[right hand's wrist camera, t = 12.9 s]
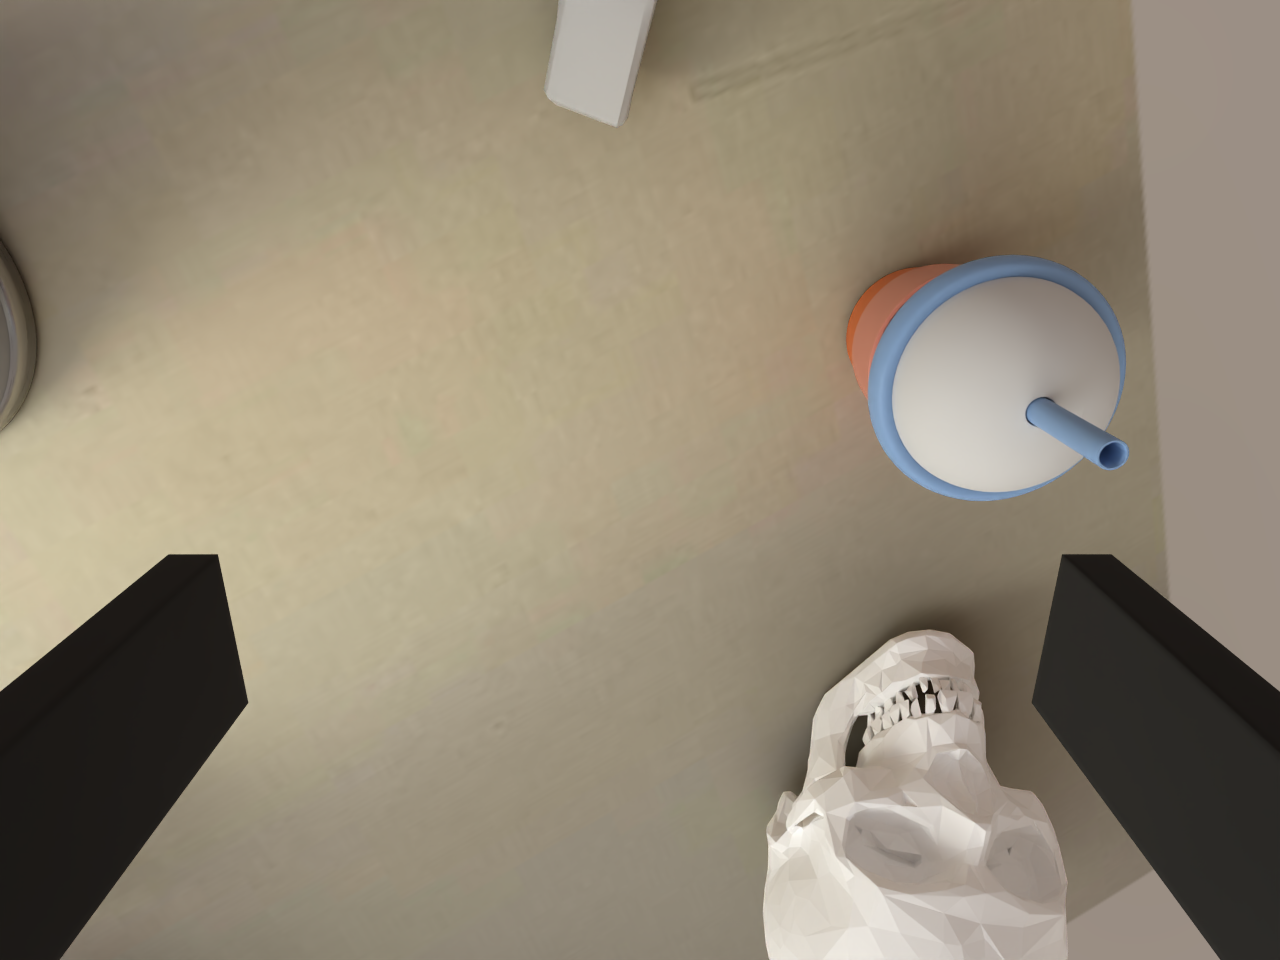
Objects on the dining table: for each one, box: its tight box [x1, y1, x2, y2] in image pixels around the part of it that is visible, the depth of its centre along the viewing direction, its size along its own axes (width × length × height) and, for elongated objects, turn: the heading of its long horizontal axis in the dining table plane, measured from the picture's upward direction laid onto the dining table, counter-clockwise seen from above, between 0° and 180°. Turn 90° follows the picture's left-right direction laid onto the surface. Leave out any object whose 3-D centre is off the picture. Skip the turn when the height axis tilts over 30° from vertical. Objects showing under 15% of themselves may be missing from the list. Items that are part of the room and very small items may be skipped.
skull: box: [763, 629, 1068, 960], centre depth 41 cm, size 13×22×16 cm, turn 175°
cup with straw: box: [846, 255, 1129, 501], centre depth 31 cm, size 9×9×18 cm
